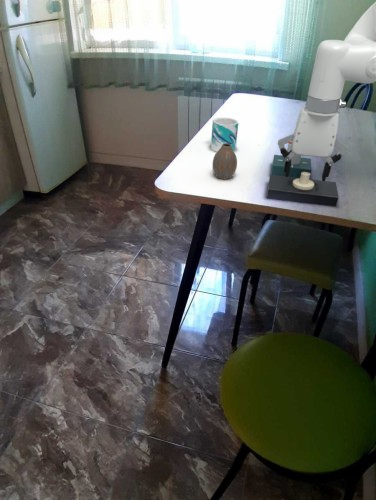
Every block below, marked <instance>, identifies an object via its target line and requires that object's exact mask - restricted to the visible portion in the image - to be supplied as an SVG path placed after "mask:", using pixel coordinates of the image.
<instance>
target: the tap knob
mask: <svg viewBox="0 0 376 500" xmlns="http://www.w3.org/2000/svg"><path fill="white" fill-rule="evenodd" d="M291 145H292V141H291V142H289V143H287V148H286V150H287V151H288V152H289V151H290V150H291V149H292V146H291ZM302 156H303V155H297V154H296V155H295V156H294V157H293V158H292V159H291V164H293V165H296V164H299V163H300V160H301V158H302ZM285 161H286V160H285Z"/></svg>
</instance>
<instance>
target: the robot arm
mask: <svg viewBox="0 0 376 500" xmlns="http://www.w3.org/2000/svg"><path fill="white" fill-rule="evenodd" d="M313 63H314V64H313V67H312V72H311V78H310V82H309V88H308V92H307V96H306V102H305V106H304V107H301V109H300V112H299V114H298V117H297V120H296V124H295V127H294V131H293V133H291V134H290V135H287V136H285V137H281V138H280V139H278V141H277V145H278V149H279V152H280V155H282V156H283V157H284V158H285V160H286V161H285V166H284V172H286V177H288V176H289V171H290V166H291V159H292V158H293V157H294V156H295V155H296V154H297V155H302V156H305V157H316V158H325V161H326V162H324V166H323V170H322V173H321V180H322V181H326V179H327V178H329V177H330V173H331V169H332V166H334V165H335V164H336V163H337V162H339V161H340V160H341V159H342V157H344V156H345V155H346V154H347V152H348V150H349V148H348V145H347V146H346V145H345V144H344V143H343V142H342V141H340V140H339V139H338V138H337V134H338V129H339V122H340V111H339V110H340V109H345V108H346V104H347V101H345V100H343V99H342V95H343V91H344V87H345V84H346V82H347V81H348V82H354V83H357V84H358V83H359V84H365V85H367V84H373V83H375V82H376V1H375V2H374V3H373V4H372V5H370V6H369V7H368V9H367V10H365V11H364V12H363V14H362V15H361V16H360V17H359V19H358V20H357V21H356V22H355V24H354V25H353V27H352V28H351V29H350V31H349V32H348V33H347V35H346V36H345V38H344V40H340V39H326V40H323V41H321V42H320V43H319V44H318V47H317V50H316V53H315V59H314V62H313ZM289 142H292V145H291V146H292V149H291V150H290V151H289V152H288V151H287V148H286V147H285V145H286V144H288V143H289ZM335 147H336V148H337V149H338V150H339V151H338V152H337V153H335V154H334V155H332V154H333V151H334V148H335Z"/></svg>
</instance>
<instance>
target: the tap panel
mask: <svg viewBox="0 0 376 500" xmlns="http://www.w3.org/2000/svg"><path fill="white" fill-rule="evenodd" d="M284 166H285V158H284V157H283V155H282V154H274V155H273V159H272V164H271V173H270V175H278V176H286V172H284ZM312 167H313V166H312V158H308V157H301V160H300V163H299V164H296V165H293V164H291V166H290V171H289V176H288V177H296V178H300V176H301V173H302V172H308V173H310V176H311V174H312V170H313V168H312ZM309 179H311V177H310V178H309Z"/></svg>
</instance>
